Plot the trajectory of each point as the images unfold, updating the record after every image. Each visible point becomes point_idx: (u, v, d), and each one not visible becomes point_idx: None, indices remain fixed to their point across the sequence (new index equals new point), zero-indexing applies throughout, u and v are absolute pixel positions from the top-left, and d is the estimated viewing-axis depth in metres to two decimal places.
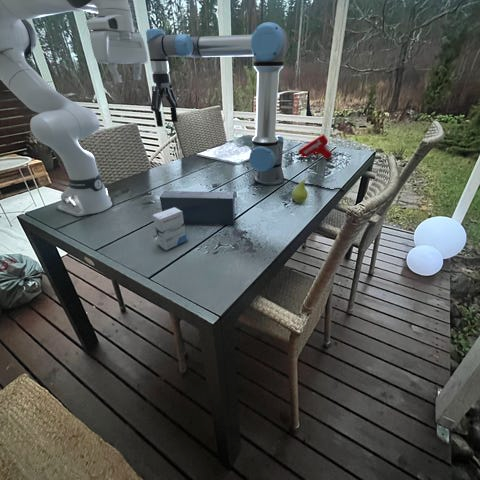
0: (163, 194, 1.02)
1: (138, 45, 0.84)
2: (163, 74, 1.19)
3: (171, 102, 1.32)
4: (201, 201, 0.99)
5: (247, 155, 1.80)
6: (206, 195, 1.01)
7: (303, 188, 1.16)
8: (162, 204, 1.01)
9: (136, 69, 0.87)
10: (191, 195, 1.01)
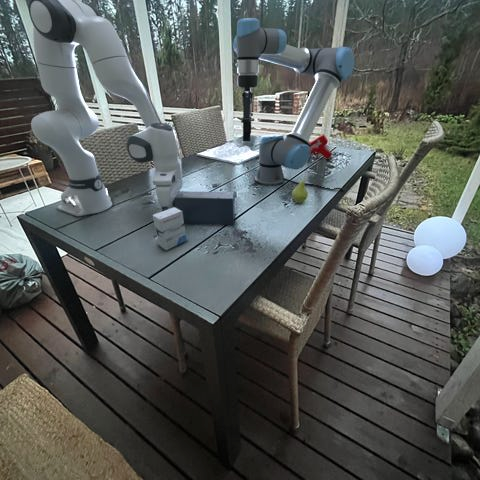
0: None
1: (178, 178, 1.05)
2: (255, 76, 0.95)
3: None
4: (201, 201, 0.99)
5: (247, 155, 1.80)
6: (206, 195, 1.01)
7: (303, 188, 1.16)
8: None
9: None
10: (191, 195, 1.01)
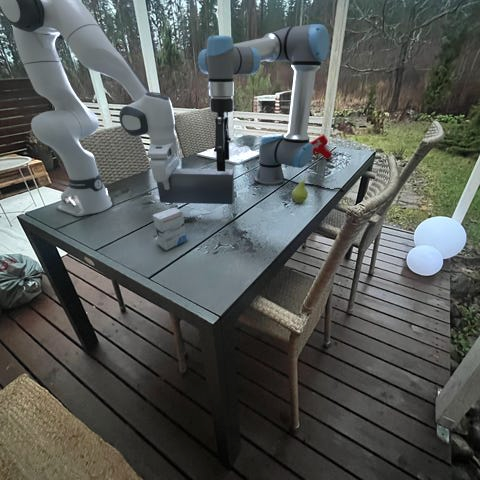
0: None
1: (175, 155, 1.00)
2: (229, 100, 0.83)
3: (225, 135, 0.96)
4: (199, 178, 0.95)
5: (247, 155, 1.80)
6: (204, 171, 0.96)
7: (303, 188, 1.16)
8: None
9: None
10: (188, 171, 0.96)
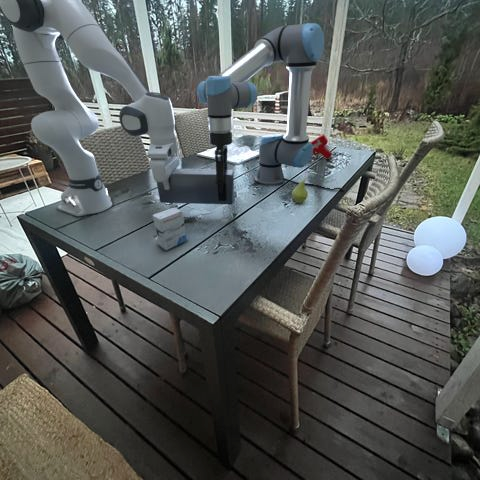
0: None
1: (175, 155, 1.00)
2: (228, 134, 0.87)
3: None
4: (199, 178, 0.95)
5: (247, 155, 1.80)
6: (204, 171, 0.96)
7: (303, 188, 1.16)
8: None
9: None
10: (188, 172, 0.96)
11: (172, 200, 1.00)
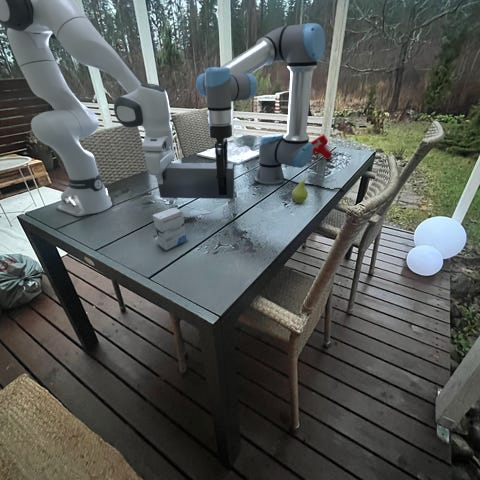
0: None
1: (170, 148, 0.99)
2: (227, 127, 0.86)
3: (224, 162, 0.97)
4: (199, 172, 0.94)
5: (247, 155, 1.80)
6: (204, 166, 0.95)
7: (303, 188, 1.16)
8: None
9: None
10: (188, 166, 0.95)
11: (172, 195, 0.99)
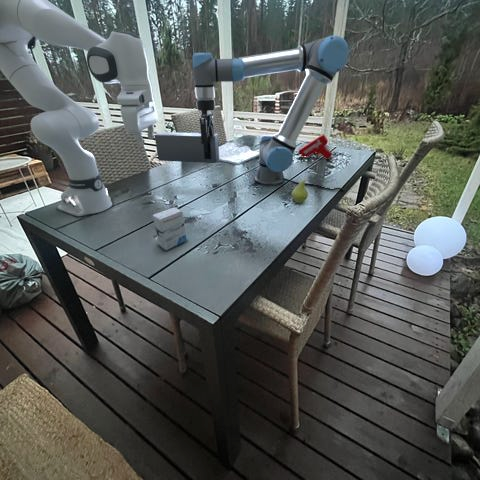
0: (157, 133, 1.20)
1: (152, 109, 0.92)
2: (210, 101, 1.08)
3: None
4: (188, 139, 1.16)
5: (247, 155, 1.80)
6: (193, 134, 1.17)
7: (303, 188, 1.16)
8: (156, 141, 1.19)
9: (149, 129, 0.95)
10: (180, 134, 1.18)
11: (168, 158, 1.22)
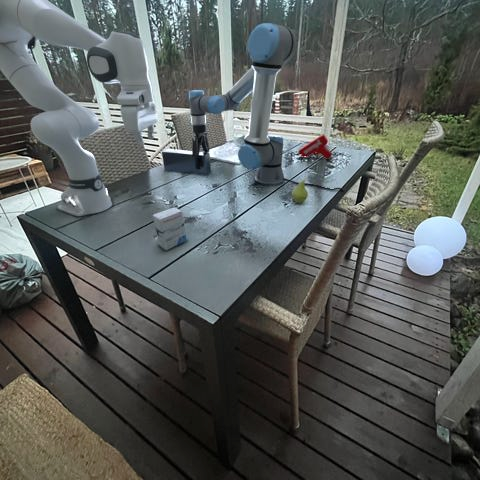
0: (165, 150, 1.55)
1: (152, 109, 0.92)
2: (201, 126, 1.39)
3: (204, 147, 1.51)
4: (186, 156, 1.50)
5: None
6: (190, 152, 1.51)
7: (303, 188, 1.16)
8: (163, 156, 1.54)
9: (149, 129, 0.95)
10: (181, 152, 1.52)
11: (171, 169, 1.57)
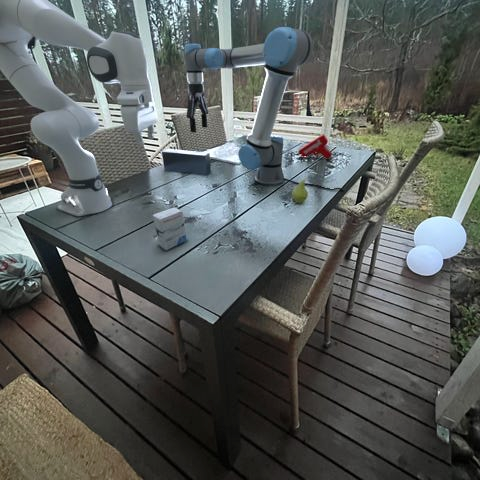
0: (165, 150, 1.55)
1: (152, 109, 0.92)
2: (198, 84, 1.29)
3: (202, 109, 1.42)
4: (186, 156, 1.50)
5: None
6: (190, 152, 1.51)
7: (303, 188, 1.16)
8: (163, 156, 1.54)
9: (149, 129, 0.95)
10: (181, 152, 1.52)
11: (171, 169, 1.57)
